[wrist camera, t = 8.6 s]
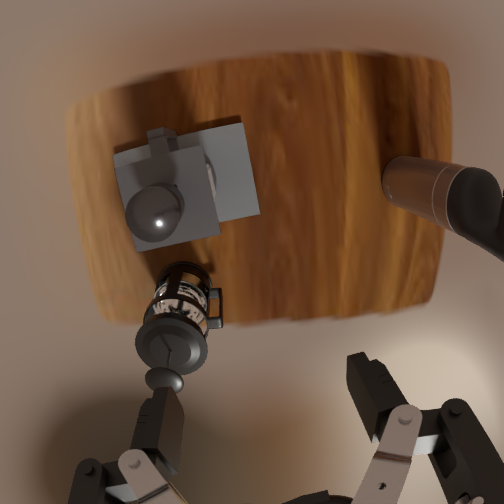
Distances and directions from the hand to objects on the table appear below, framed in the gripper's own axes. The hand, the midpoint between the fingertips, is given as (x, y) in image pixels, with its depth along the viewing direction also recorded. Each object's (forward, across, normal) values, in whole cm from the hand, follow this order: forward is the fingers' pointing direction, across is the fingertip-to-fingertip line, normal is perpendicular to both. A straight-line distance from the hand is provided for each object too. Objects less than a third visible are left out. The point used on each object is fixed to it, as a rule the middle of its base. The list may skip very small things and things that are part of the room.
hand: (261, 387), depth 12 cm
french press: (+36, +11, +11) cm, 39 cm away
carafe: (+35, +7, -8) cm, 36 cm away
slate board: (+36, +7, -6) cm, 37 cm away
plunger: (+28, +7, -6) cm, 30 cm away
